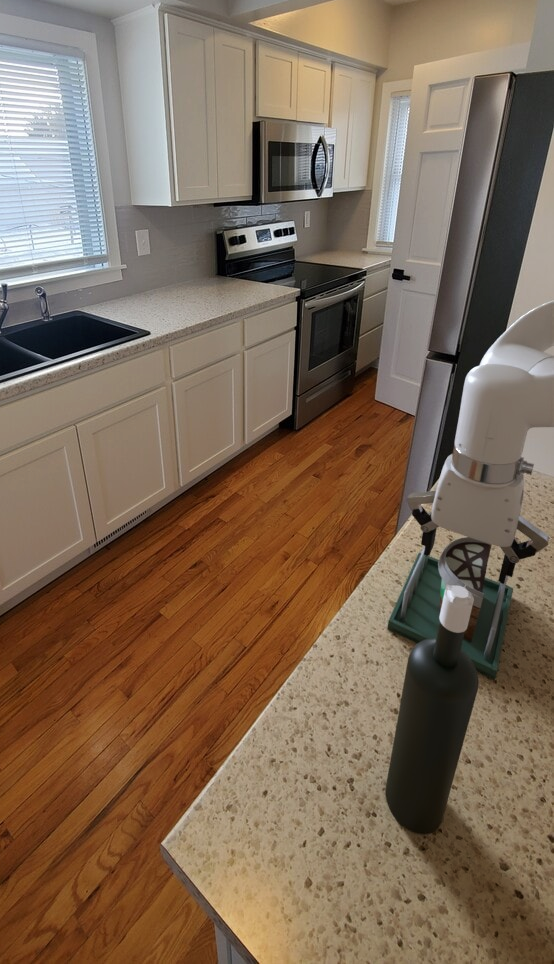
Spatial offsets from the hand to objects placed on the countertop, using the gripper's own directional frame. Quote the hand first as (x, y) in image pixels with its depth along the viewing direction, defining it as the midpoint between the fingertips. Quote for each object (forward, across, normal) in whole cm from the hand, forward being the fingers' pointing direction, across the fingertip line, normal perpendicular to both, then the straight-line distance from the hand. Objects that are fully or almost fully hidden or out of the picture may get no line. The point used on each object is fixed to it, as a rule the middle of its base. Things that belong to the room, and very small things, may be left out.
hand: (464, 562), depth 69 cm
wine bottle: (+9, -2, +28) cm, 29 cm away
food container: (+9, 0, 0) cm, 9 cm away
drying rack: (+10, 0, +1) cm, 10 cm away
